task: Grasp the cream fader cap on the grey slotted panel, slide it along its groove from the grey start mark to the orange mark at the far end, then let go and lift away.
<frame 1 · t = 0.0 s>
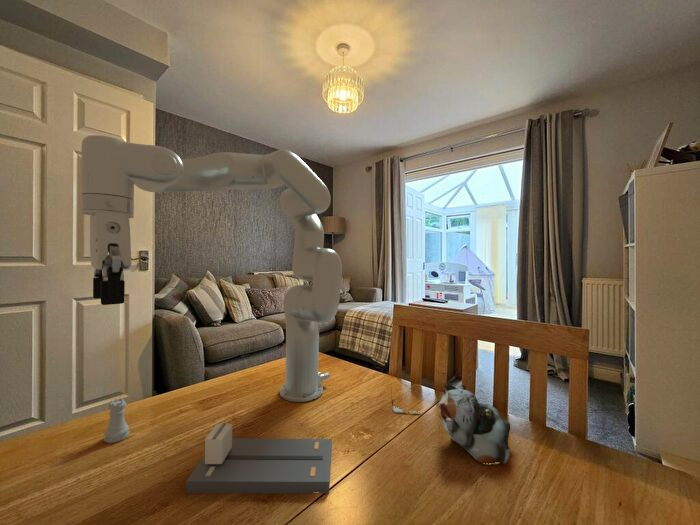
hand: (108, 300, 56), 31 cm above the table, tool pointing down, fingers open, 9 cm apart
lucky cat figurine: (473, 447, 65), on the table
fader: (219, 442, 57), point 5 cm above the table, slide at 0.0 cm
rook chess piece: (117, 438, 65), on the table
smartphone: (404, 402, 85), on the table
grey slotted panel: (267, 468, 57), on the table
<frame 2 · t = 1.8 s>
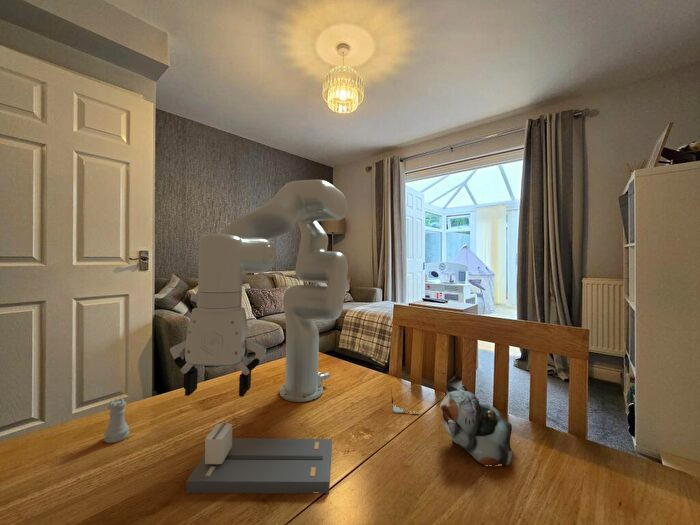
hand: (217, 393, 56), 14 cm above the table, tool pointing down, fingers open, 9 cm apart
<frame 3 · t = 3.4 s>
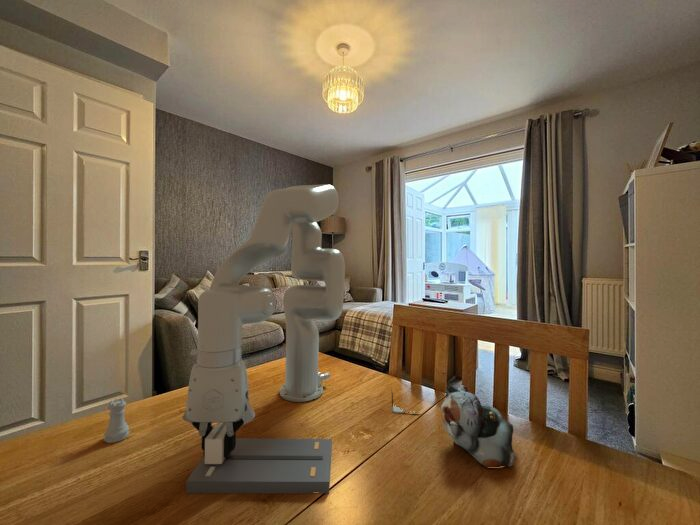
hand: (218, 452, 57), 3 cm above the table, tool pointing down, fingers closed on fader, 3 cm apart
fader: (218, 442, 57), point 5 cm above the table, slide at -0.1 cm, touching gripper
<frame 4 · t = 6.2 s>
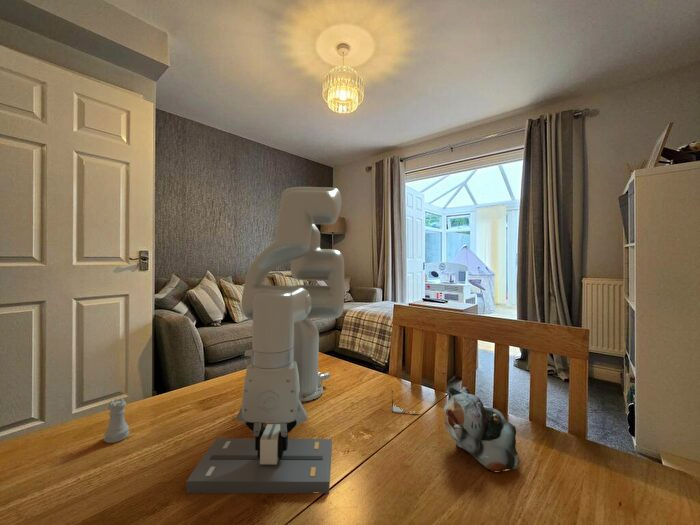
hand: (271, 452, 57), 3 cm above the table, tool pointing down, fingers closed on fader, 3 cm apart
fader: (271, 442, 57), point 5 cm above the table, slide at 9.8 cm, touching gripper
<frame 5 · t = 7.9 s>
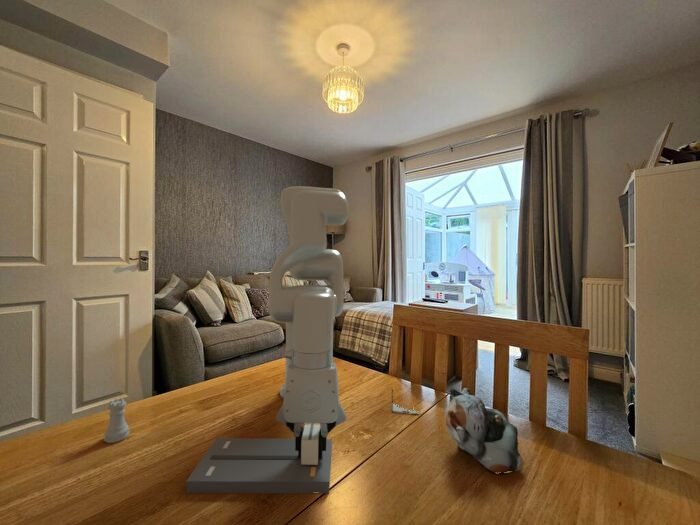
hand: (310, 452, 57), 3 cm above the table, tool pointing down, fingers closed on fader, 3 cm apart
fader: (311, 443, 57), point 5 cm above the table, slide at 17.2 cm, touching gripper
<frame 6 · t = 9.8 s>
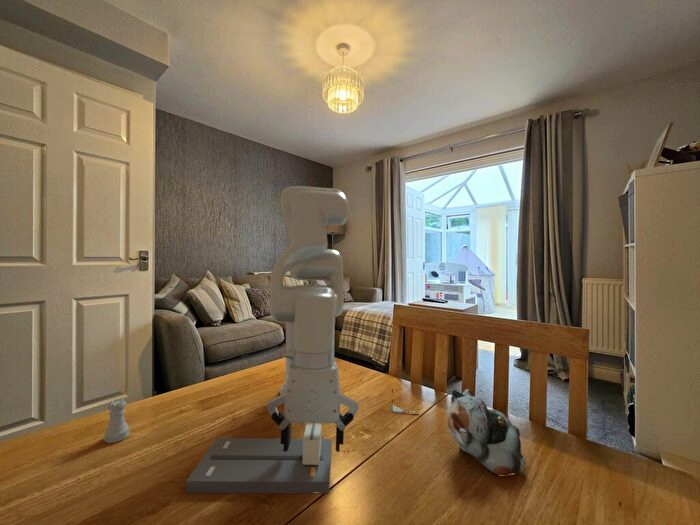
hand: (312, 447, 57), 4 cm above the table, tool pointing down, fingers open, 9 cm apart
fader: (312, 443, 57), point 5 cm above the table, slide at 17.5 cm
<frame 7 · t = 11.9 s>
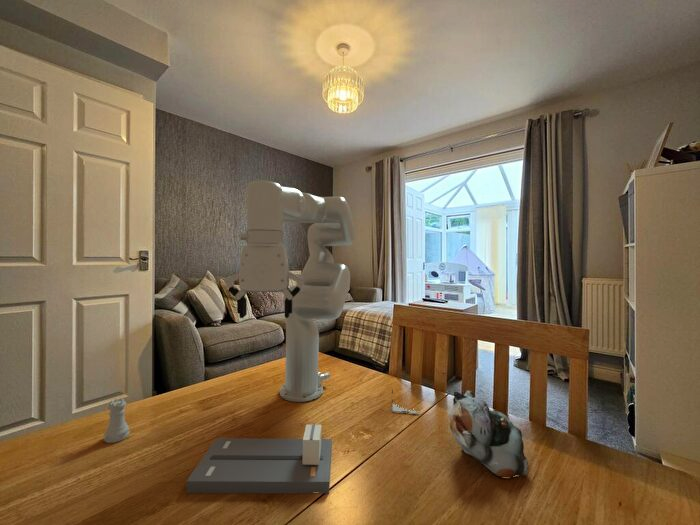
hand: (265, 316, 67), 27 cm above the table, tool pointing down, fingers open, 9 cm apart
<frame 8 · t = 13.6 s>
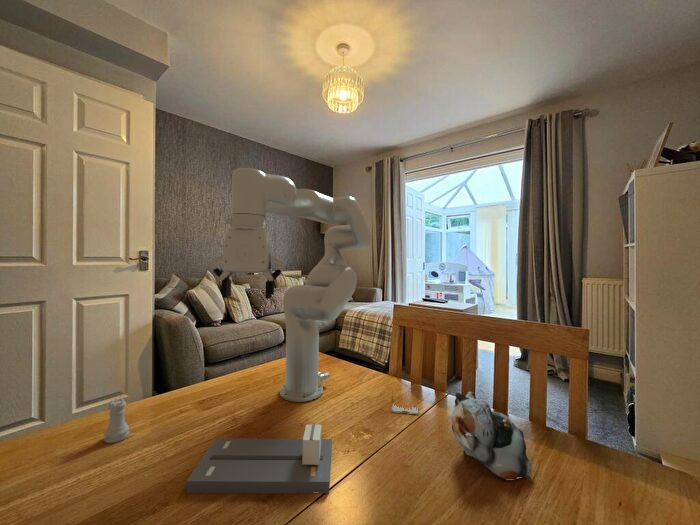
hand: (247, 297, 70), 30 cm above the table, tool pointing down, fingers open, 9 cm apart
at the end: fader slide at 17.5 cm; the gripper is holding nothing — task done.
